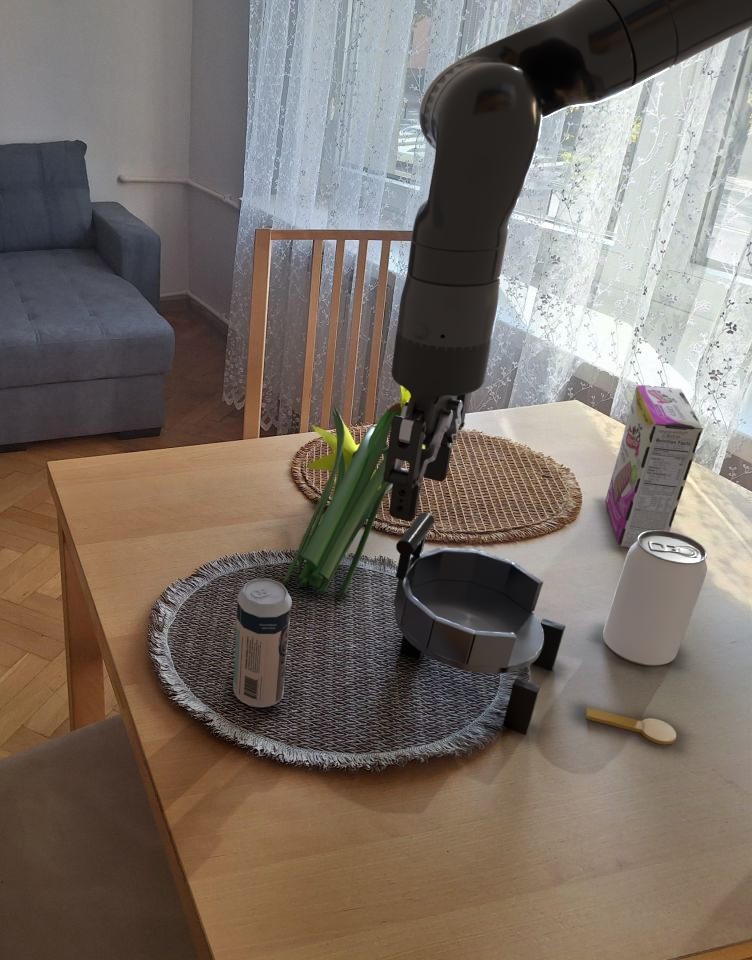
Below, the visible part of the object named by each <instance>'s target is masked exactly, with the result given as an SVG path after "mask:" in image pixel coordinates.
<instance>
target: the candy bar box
mask: <svg viewBox="0 0 752 960" xmlns="http://www.w3.org/2000/svg"><path fill="white" fill-rule="evenodd" d="M703 431H704V428H703V426H702V424H701V422H700V421H699V418H698V416H697V415H696V413H695V411H694V410H693V407H692V405H690V402H689V401H688V398H687V397H686V395H685V393H684V392H683V389H682V388H679V387H678V388H677V387H665V386H658V385H657V386H656V385H654V386H651V385H649V384H648V385H647V384H642V385H636V387H635V390H634V395H633V398H632V402H631V405H630V409H629V412H628V416H627V420H626V423H625V427H624V430H623V434H622V438H621V442H620V445H619V449H618V452H617V457H616V461H615V464H614V468H613V472H612V475H611V479H610V482H609V486H608V490H607V493H606V496H605V500H604V503H605V506H606V509H607V512H608V516H609V519H610V522H611V525H612V528H613V529H612V530H613V532H614V536H615V539H616V542H617V546H618V547H619V548H623V549H628V550H629V549H630V547H631V546H632V545H633V544H634V543H635V542H637V538H638V536H639V535H640V534H641V533H643V532H646V531H651V530H663V531H670V532H671V528H672V525H673V522H674V519H675V516H676V514H677V513H676V512H677V509H678V507H679V503H680V501H681V498H682V495H683V491H684V489H685V485H686V481H687V479H688V476H689V473H690V470H691V468H692V464H693V460H694V458H695V455H696V451H697V448H698V445H699V442H700V438H701V435H702V433H703Z"/></svg>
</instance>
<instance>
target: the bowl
mask: <svg viewBox="0 0 752 960" xmlns="http://www.w3.org/2000/svg"><path fill="white" fill-rule="evenodd" d="M434 525H435V518H434V515H432V514H431V513H429V512H426V511H425V512H420V513H419V514H418V516H416V517H415V518H414V520H413V521H412V523H411V524H410V526H409V527H408V528H407V529H406V531H405V532H404V533H403V535H402V536H401V537H400V538H399V540H398V541H397V542H396V545H395V549H396V551H397V552H398V553H399V558H398V563H397V567H396V572H395V578H396V579H398V580H397V585H396V590H395V595H394V599H393V606H394V612H393V613H394V620H395V623H396V626H397V628H398V629H399V631H400V633H401V634H402V636H403V635H404V637H405V638H406V639H407V640H408V641H409V642H410V643H411V644H412V645H413V646H414V647H416V648H417V649H418V650H420V651H421V652H423V655H426V656H427V657H429V658H431V659H433V660H434V661H437V662H438V663H441V664H443V665H446V666H449V667H452V668H454V669H458V670H462V671H466V672H470V673H471V672H472V673H476V674H477V673H478V674H485V675H486V674H487V675H489V674H490V675H491V674H492V675H498V674H499V675H500V674H508V673H513V672H517V671H520V670H523V669H525V668H527V667H529V666H530V665H532V664H531V663H533V662H534V661H535V660H536V659H537V658H538V656H539V655H540V653H541V650H542V647H543V644H544V632H543V628H542V626H541V622H540V620H539V618H538V617H537V616H536V615H535V613H534V612H535V609H536V606H537V604H538V600H539V596H540V595H541V591H542V588H543V584H544V581H543V580H542V579H540V578H539V577H538V576H536V575H534V574H533V573H532V572H530V571H529V570H527V569H525V568H524V567H522V566H521V565H520V564H518V563H517V562H514V561H512V560H509V559H507V558H503V557H501V556H498V555H494V554H492V553H488V552H485V551H482V550H479V549H478V550H477V549H470V548H469V549H468V548H450V547H441V548H440V547H438V548H435V549H432V550H428V551H426V552H423V551H424V546H425V542H426V538H427V534H428V533H429V531H430V530H431V529H432V527H433V526H434Z"/></svg>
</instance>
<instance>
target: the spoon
mask: <svg viewBox="0 0 752 960" xmlns="http://www.w3.org/2000/svg"><path fill="white" fill-rule="evenodd" d="M585 715H586V716H585V719H586V720H588V721H593V722H595V723H596V722H597V723H599V724H605V725H609V726H612V727H616V728H619V729H624V730H626V731H627V730H628V731H631V732H635V733H639V734H641V735H642V736H643V737H644V738H646V740H648V741H650V742H653V743H654V744H659V745H671V744H674V743H675V741H676V739H677V736H678V735H677V732H676V730H675V729H674V727H673V726H672V725H670V724H669V723H667V722H666V721H664V720H661V719H659V718H653V717H650V718H649V717H648V718H644V719H642V720H639V719H635V718H631V717H627V716H623V715H619V714H615V713H611V712H608V711H603V710H600V709H595V708H591V707H586V711H585Z"/></svg>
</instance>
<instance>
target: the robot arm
mask: <svg viewBox="0 0 752 960" xmlns="http://www.w3.org/2000/svg"><path fill="white" fill-rule="evenodd" d="M751 27H752V0H579V1H578V2H576V3H574V4H573V5H571V6H570V7H568V8H566V9H564V10H563V11H561V12H560V13H558V14H556V15H554V16H551V17H550V18H547V19H546V20H545V19H544V20H543V21H540V22H538V23H536V24H532V25H531V26H528V27H525V28H523V29H522V30H519V31H516V32H515V33H512V34H509V35H507V36H505V37H503V38H500V39H498V40H496V41H494V42H491V43H490V44H488V45H485V46H483V47H481V48H479V49H476V50H475V51H473V52H471V53H469V54H468V55H465V56H463V57H461V58H460V59H458V60H456V61H454V62H453V63H452V64H450V65H449V66H448V67H445V69H443V70H442V71H441V72H440V73H439V74H438V75H437V76H436V77H435V78H434V79H433V80H432V82H431V83H430V84H429V85H428V87H427V89H426V91H425V92H424V94H423V97H422V100H421V103H420V106H419V113H418V120H419V126H420V129H421V133H422V135H423V137H424V139H425V141H426V142H427V143H428V144H429V146H431V148H433V149H434V150H435V155H434V162H433V167H432V173H431V179H430V185H429V190H428V196H427V199H426V200H425V201H424V202H423V203H421V205H420V206H419V207H418V209H417V211H416V215H415V218H414V222H413V226H412V233H411V239H410V246H409V255H408V262H407V269H406V270H407V272H406V277H405V280H404V284H403V288H402V292H401V296H400V301H399V307H398V316H397V323H396V331H395V332H396V333H395V340H394V348H393V356H392V363H391V364H392V365H391V372H390V373H391V378H392V379H393V381H394V382H395V383H396V384H398V385H399V386H400V387H401V386H403V387H404V388H405V390H406V391H407V390H408V391H409V393H410V394H411V397H410V399H409V402H405V404H404V407H403V410H402V413H401V416H397V415H395V416H394V418H393V419H392V422H391V429H390V432H389V438H388V444H387V448H388V451H387V458H386V464H385V471H384V474H383V477H384V478H383V480H384V481H385V482H389V483H391V484H393V486H392V488H391V494H390V501H389V502H390V503H389V510H388V514H389V515H390V517H392V518H394V519H399V520H401V521H402V520H403V521H404V522H413V521H414V520H415V519H416V518H417V514H418V507H419V502H420V495H421V488H422V483H423V482H424V479H428V480H432V481H434V482H435V481H436V482H444V481H445V480H446V478H447V477H448V473H449V469H450V461H451V456H452V450H453V444H454V445H455V443H456V441H458V437H459V435H458V433H459V431H462V429H464V427H465V425H466V423H465V419H466V412H467V407H468V399H469V394H471V393H474V392H476V391H478V390H479V389H480V388H482V386H483V385H484V383H485V381H486V375H487V371H488V364H489V359H490V355H491V348H492V342H493V337H494V332H495V328H496V321H497V315H498V310H499V304H500V303H499V302H500V301H499V300H500V281H501V274H502V268H503V263H504V258H505V252H506V248H507V247H506V246H507V242H508V233H509V225H510V220H511V217H512V214H513V212H514V211H515V208H516V206H517V203H518V201H519V199H520V197H521V194H522V191H523V188H524V185H525V183H526V180H527V177H528V174H529V171H530V169H531V166H532V164H533V160H534V157H535V154H536V151H537V147H538V143H539V138H540V135H541V127H542V120H543V119H544V118H547V117H549V116H551V115H553V114H556V113H558V112H559V111H561V110H564V109H567V108H572V107H579V106H589V105H595V104H598V103H601V102H604V101H606V100H607V101H608V100H609V99H611V98H614V97H617V96H619V95H620V94H623V93H625V92H626V91H628V90H630V89H632V88H635V87H637V86H638V85H640V84H642V83H644V82H646V81H648V80H650V79H652V78H654V77H656V76H658V75H660V74H662V73H663V72H665V71H667V70H670V69H671V68H673V67H675V66H677V65H679V64H681V63H683V62H684V61H686V60H688V59H690V58H693V57H694V56H696V55H698V54H700V53H702V52H704V51H707V50H708V49H710V48H712V47H713V46H716V45H717V44H719V43H722V42H723V41H725V40H727V39H729V38H731V37H733V36H735V35H737V34H739V33H742V32H743V31H745V30H747V29H750V28H751ZM423 445H424V447H425V449H422V446H423ZM405 462H406V463H408V465H409V466H408V468H405V467H403V466H404V463H405Z"/></svg>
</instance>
